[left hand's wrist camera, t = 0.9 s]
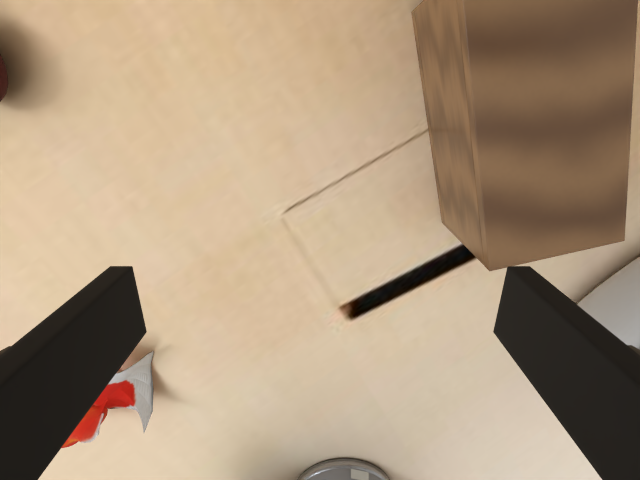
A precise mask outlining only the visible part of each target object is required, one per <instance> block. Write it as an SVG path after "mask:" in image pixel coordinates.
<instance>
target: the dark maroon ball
mask: <svg viewBox="0 0 640 480" xmlns="http://www.w3.org/2000/svg"><path fill="white" fill-rule="evenodd" d="M7 87H8V78H7V70H6V66H5V64H4V61H3V59H2V57H1V55H0V101H1V100H2V99H3V97H4V96H5V95H6V92H7Z"/></svg>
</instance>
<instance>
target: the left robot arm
mask: <svg viewBox="0 0 640 480" xmlns="http://www.w3.org/2000/svg"><path fill="white" fill-rule="evenodd" d="M145 333H146V327H145V323H144V318H143V313H142V309H141V304H140V300H139V295H138V290H137V286H136V281H135V277H134V272H133V267H132V266H110V267H109V268H108V269H107V270H105V271H104V272H103V273H102V274H100V275H99V276H98V277H97V278H95V279H94V280H93V281H92V282H90V283H89V284H88V285H87V286H85V287H84V288H83V289H82V290H81V291H79V292H78V293H77V294H76V295H74V296H73V297H72V298H71V299H69V300H68V301H67V302H66V303H64V304H63V305H62V306H61V307H59V308H58V309H57V310H56V311H55V312H53V313H52V314H51V315H50V316H48V317H47V318H46V319H45V320H43V321H42V322H41V323H40V324H38V325H37V326H36V327H35V328H33V329H32V330H31V331H30V332H29V333H27V334H26V335H25V336H24V337H22V338H21V339H20V340H19V341H17V342H16V343H15V344H14V345H12V346H9V347H7V348H5V349H3V350H1V351H0V480H38V478H39V477H40V476H41V474H42V473H43V472H44V470H45V469H46V468H47V466H48V465H49V464H50V462H51V461H52V459H53V458H54V457H55V455H56V454H57V453H58V451H59V450H60V449H61V447H62V446H63V445H64V443H65V442H66V440H67V439H68V438H69V436H70V435H71V434H72V432H73V431H74V430H75V428H76V427H77V426H78V424H79V423H80V422H81V420H82V419H83V417H84V416H85V415H86V413H87V412H88V411H89V409H90V408H91V407H92V405H93V404H94V403H95V401H96V400H97V398H98V397H99V396H100V394H101V393H102V392H103V390H104V389H105V388H106V386H107V385H108V384H109V382H110V381H111V380H112V378H113V377H114V375H115V374H116V373H117V371H118V370H119V369H120V367H121V366H122V365H123V363H124V362H125V361H126V359H127V358H128V356H129V355H130V354H131V352H132V351H133V350H134V348H135V347H136V346H137V344H138V343H139V342H140V340H141V339H142V338H143V336H144V335H145ZM494 333H495V335H496V336H497V338H498V339H499V340H500V342H501V343H502V344H503V346H504V347H505V348H506V350H507V351H508V352H509V354H510V355H511V356H512V358H513V359H514V361H515V362H516V363H517V365H518V366H519V367H520V369H521V370H522V371H523V373H524V374H525V375H526V377H527V378H528V380H529V381H530V382H531V384H532V385H533V386H534V388H535V389H536V390H537V392H538V393H539V394H540V396H541V397H542V398H543V400H544V401H545V403H546V404H547V405H548V407H549V408H550V409H551V411H552V412H553V413H554V415H555V416H556V417H557V419H558V420H559V422H560V423H561V424H562V426H563V427H564V428H565V430H566V431H567V432H568V434H569V435H570V436H571V438H572V439H573V440H574V442H575V443H576V445H577V446H578V447H579V449H580V450H581V451H582V453H583V454H584V455H585V457H586V458H587V459H588V461H589V462H590V464H591V465H592V466H593V468H594V469H595V470H596V472H597V473H598V474H599V476H600V477H601V478H602V480H640V349H638V348H636V347H634V346H632V345H626V344H625V343H624V342H623V341H621V340H620V339H619V338H618V337H616V336H615V335H614V334H613V333H611V332H610V331H609V330H608V329H607V328H605V327H604V326H603V325H602V324H600V323H599V322H598V321H597V320H595V319H594V318H593V317H592V316H590V315H589V314H588V313H587V312H585V311H584V310H583V309H582V308H581V307H579V306H578V305H577V304H576V303H574V302H573V301H572V300H571V299H569V298H568V297H567V296H566V295H564V294H563V293H562V292H561V291H559V290H558V289H557V288H556V287H555V286H553V285H552V284H551V283H550V282H548V281H547V280H546V279H545V278H543V277H542V276H541V275H540V274H538V273H537V272H536V271H535V270H533V269H532V268H531V267H530V266H508V267H507V272H506V277H505V281H504V286H503V290H502V295H501V300H500V304H499V309H498V313H497V318H496V323H495V327H494ZM298 480H390V479H389V478H388V476H387V475H386V474H385V473H384V472H383V471H382V470H381V469H379V468H378V467H376V466H374V465H372V464H370V463H367V462H364V461H361V460H356V459H333V460H328V461H324V462H321V463H318V464H316V465H314V466H312V467H310V468H309V469H307V470H306V471H305V472H304V473H302V474H301V476H300V477H299V478H298Z"/></svg>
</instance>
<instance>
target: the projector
mask: <svg viewBox="0 0 640 480" xmlns="http://www.w3.org/2000/svg"><path fill="white" fill-rule="evenodd" d="M577 305H578V306H579V307H581V308H582V309H583V310H584V311H585V312H587V313H588V314H589V315H590V316H592V317H593V318H594V319H595V320H597V321H598V322H599V323H600V324H602V325H603V326H604V327H605V328H607V329H608V330H609V331H610V332H611V333H613V334H614V335H615V336H616V337H618V338H619V339H620V340H621V341H623V342H624V343H625V344H626V345H632V346H634V347H636V348H638V349H640V257H638V258H637V259H635V260H634V261H632V262H631V263H629V264H628V265H626V266H625V267H624V268H622V269H621V270H619V271H618V272H617V273H615V274H614V275H612V276H611V277H610V278H608V279H607V280H606V281H604V282H603V283H602V284H601V285H599V286H598V287H597V288H596V289H594V290H593V291H592V292H591V293H589V294H588V295H587V296H586V297H585V298H583V299H582V300H581V301H580V302H579V303H578V304H577Z"/></svg>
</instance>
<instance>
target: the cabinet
mask: <svg viewBox="0 0 640 480" xmlns="http://www.w3.org/2000/svg"><path fill="white" fill-rule="evenodd" d="M637 7H638V0H424V1H423V2H422V3H421V4H420V5H418V6H417V7H416V8H415V9H414V10H413V11H412V18H413V25H414V32H415V39H416V46H417V53H418V60H419V67H420V74H421V80H422V87H423V94H424V101H425V108H426V115H427V122H428V129H429V136H430V142H431V149H432V156H433V163H434V170H435V177H436V184H437V191H438V198H439V205H440V211H441V218H442V223H443V224H444V225H445V226H446V227H447V228H448V229H449V230H450V231H451V232H452V233H453V234H454V235H455V236H456V237H457V238H458V239H459V240H460V241H461V242H462V243H463V244H464V245H465V246H466V247H467V248H468V249H469V250H470V251H471V252H472V253H473V255H474V256H475V257H476V258H477V259H478V260H479V261H480V262H481V263H482V264H483V265H484V266H485V267H486V268H487V269H488V270H489V271H493V270H497V269H502V268H506V267H508V266H515V265H519V264H524V263H528V262H533V261H537V260H541V259H546V258H550V257H555V256H559V255H563V254H568V253H572V252H577V251H581V250H586V249H590V248H594V247H599V246H603V245H608V244H612V243H616V242H621V241H624V240H625V222H626V204H627V187H628V169H629V151H630V133H631V115H632V97H633V79H634V61H635V43H636V25H637Z"/></svg>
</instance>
